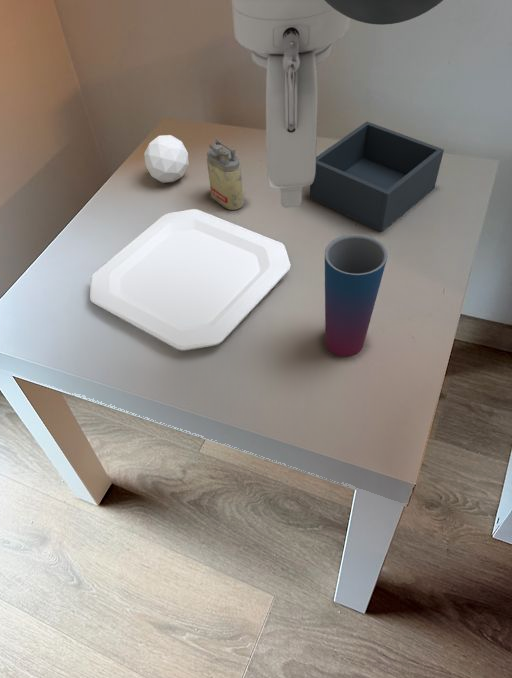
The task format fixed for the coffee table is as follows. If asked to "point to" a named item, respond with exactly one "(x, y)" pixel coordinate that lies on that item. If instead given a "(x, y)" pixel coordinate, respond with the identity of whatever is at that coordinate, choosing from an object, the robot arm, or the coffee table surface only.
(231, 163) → the lighter
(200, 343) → the plate
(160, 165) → the geometric ball
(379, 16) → the robot arm
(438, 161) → the tub
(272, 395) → the coffee table surface
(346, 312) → the cup
